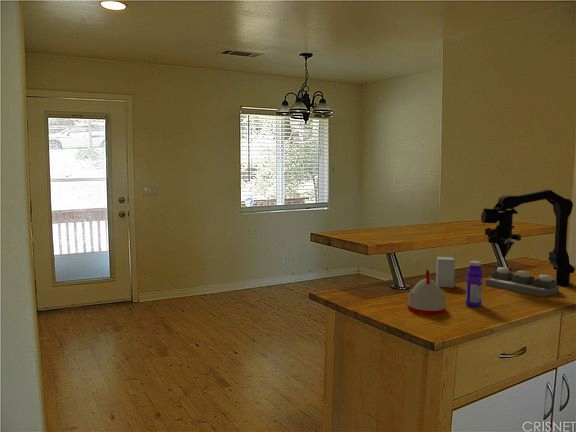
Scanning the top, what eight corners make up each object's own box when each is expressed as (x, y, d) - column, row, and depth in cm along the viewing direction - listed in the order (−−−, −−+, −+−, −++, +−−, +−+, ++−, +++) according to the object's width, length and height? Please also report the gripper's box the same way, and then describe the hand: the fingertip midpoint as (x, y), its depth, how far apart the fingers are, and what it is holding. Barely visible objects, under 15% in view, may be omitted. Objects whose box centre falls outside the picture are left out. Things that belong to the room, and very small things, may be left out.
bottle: (479, 308, 187) (481, 263, 185) (463, 306, 190) (465, 262, 188) (482, 304, 193) (484, 260, 191) (467, 302, 196) (469, 259, 194)
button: (500, 272, 229) (500, 266, 229) (510, 273, 226) (511, 268, 225) (494, 273, 226) (495, 268, 226) (505, 275, 222) (505, 269, 222)
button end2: (542, 279, 215) (542, 273, 214) (553, 281, 211) (554, 275, 210) (536, 281, 211) (536, 275, 211) (548, 283, 208) (548, 277, 207)
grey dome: (444, 305, 191) (445, 267, 189) (447, 316, 178) (448, 275, 176) (407, 303, 194) (408, 266, 192) (407, 313, 181) (409, 273, 179)
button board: (501, 280, 233) (501, 270, 232) (558, 291, 212) (559, 280, 212) (485, 284, 224) (485, 274, 223) (543, 297, 204) (544, 285, 203)
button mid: (520, 275, 222) (520, 270, 222) (531, 277, 218) (531, 272, 218) (515, 277, 219) (515, 271, 219) (526, 279, 215) (526, 273, 215)
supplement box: (454, 287, 219) (455, 259, 217) (436, 286, 220) (437, 259, 219) (452, 283, 226) (453, 256, 225) (435, 283, 227) (436, 256, 226)
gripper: (499, 220, 236) (497, 252, 237) (478, 223, 224) (476, 256, 226) (522, 222, 227) (520, 255, 228) (501, 225, 215) (499, 260, 217)
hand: (503, 257), depth 225 cm, fingers closed
